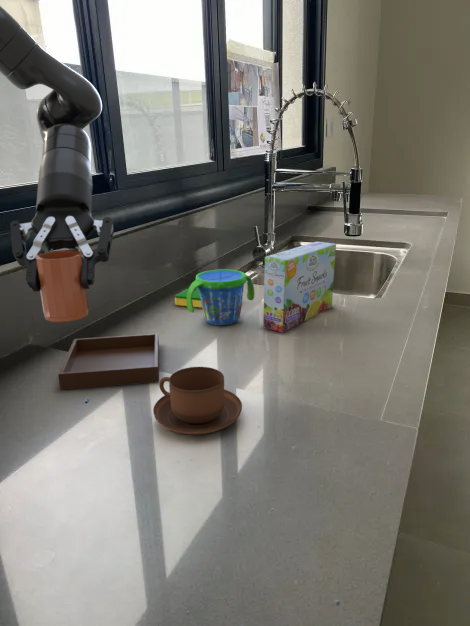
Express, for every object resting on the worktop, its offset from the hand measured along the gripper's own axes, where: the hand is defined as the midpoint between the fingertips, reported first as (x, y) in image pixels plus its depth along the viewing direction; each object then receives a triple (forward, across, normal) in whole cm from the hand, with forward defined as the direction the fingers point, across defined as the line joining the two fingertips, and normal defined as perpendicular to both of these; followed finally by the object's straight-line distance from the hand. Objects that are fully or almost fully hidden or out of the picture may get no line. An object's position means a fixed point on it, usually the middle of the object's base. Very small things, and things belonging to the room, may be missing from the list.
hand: (60, 287), depth 65 cm
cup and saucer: (+17, +17, +9) cm, 26 cm away
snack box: (-11, +42, +37) cm, 57 cm away
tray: (+3, +4, +23) cm, 24 cm away
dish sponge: (-20, +23, +47) cm, 56 cm away
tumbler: (+2, 0, +4) cm, 5 cm away
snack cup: (-11, +25, +37) cm, 46 cm away
